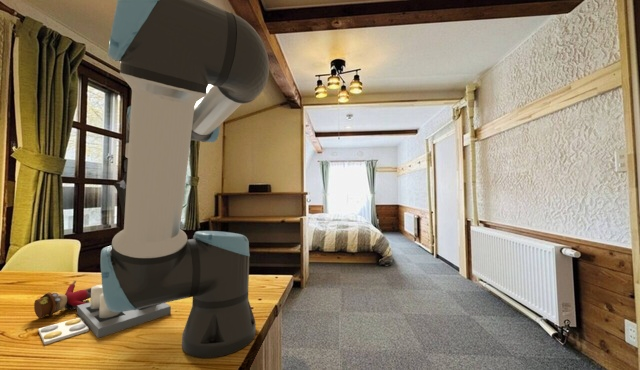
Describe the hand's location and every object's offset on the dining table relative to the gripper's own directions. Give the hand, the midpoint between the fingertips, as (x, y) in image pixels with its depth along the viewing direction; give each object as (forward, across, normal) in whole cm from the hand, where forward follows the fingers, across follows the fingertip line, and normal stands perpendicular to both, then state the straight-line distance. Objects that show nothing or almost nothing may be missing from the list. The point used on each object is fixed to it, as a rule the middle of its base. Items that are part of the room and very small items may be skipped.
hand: (138, 240), depth 75 cm
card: (+18, +8, +14) cm, 24 cm away
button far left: (+16, +6, +6) cm, 18 cm away
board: (+18, 0, +6) cm, 19 cm away
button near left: (+16, 0, +11) cm, 20 cm away
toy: (+19, +15, +1) cm, 24 cm away
